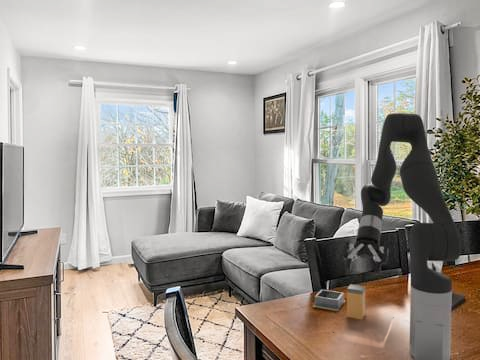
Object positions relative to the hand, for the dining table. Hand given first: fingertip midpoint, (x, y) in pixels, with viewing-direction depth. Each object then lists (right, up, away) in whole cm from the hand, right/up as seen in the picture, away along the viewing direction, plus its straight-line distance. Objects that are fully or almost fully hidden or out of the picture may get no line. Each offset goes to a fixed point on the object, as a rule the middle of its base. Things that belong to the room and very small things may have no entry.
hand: (362, 272), depth 129 cm
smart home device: (+29, -12, +5) cm, 32 cm away
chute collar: (-10, -11, +3) cm, 15 cm away
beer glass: (+34, -11, +23) cm, 42 cm away
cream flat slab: (-10, -12, +3) cm, 16 cm away
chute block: (-4, -13, -7) cm, 15 cm away
